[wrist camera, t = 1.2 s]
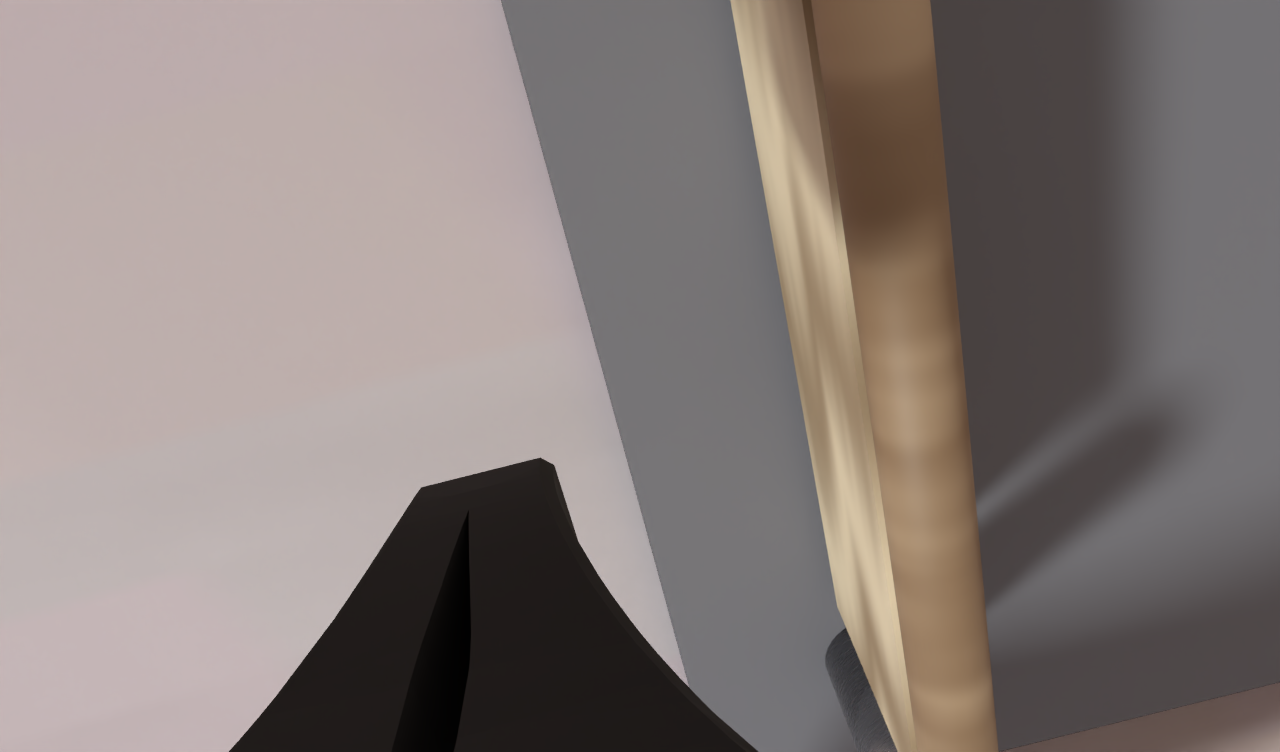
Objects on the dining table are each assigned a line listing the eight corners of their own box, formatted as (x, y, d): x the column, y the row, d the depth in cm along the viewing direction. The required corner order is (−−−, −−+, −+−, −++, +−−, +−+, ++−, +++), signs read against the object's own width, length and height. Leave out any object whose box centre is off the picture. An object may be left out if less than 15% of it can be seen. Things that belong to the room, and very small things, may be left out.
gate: (909, 596, 22) (1036, 844, 17) (824, 617, 22) (924, 871, 17) (794, -259, 15) (954, -302, 10) (668, -227, 15) (758, -253, 10)
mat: (1697, 560, 26) (1718, 573, 25) (721, 802, 26) (725, 819, 25) (2069, -634, 15) (2115, -647, 15) (443, -218, 16) (440, -218, 15)
